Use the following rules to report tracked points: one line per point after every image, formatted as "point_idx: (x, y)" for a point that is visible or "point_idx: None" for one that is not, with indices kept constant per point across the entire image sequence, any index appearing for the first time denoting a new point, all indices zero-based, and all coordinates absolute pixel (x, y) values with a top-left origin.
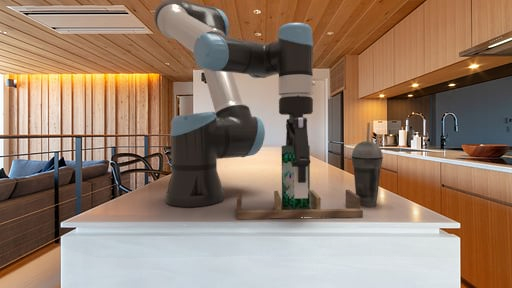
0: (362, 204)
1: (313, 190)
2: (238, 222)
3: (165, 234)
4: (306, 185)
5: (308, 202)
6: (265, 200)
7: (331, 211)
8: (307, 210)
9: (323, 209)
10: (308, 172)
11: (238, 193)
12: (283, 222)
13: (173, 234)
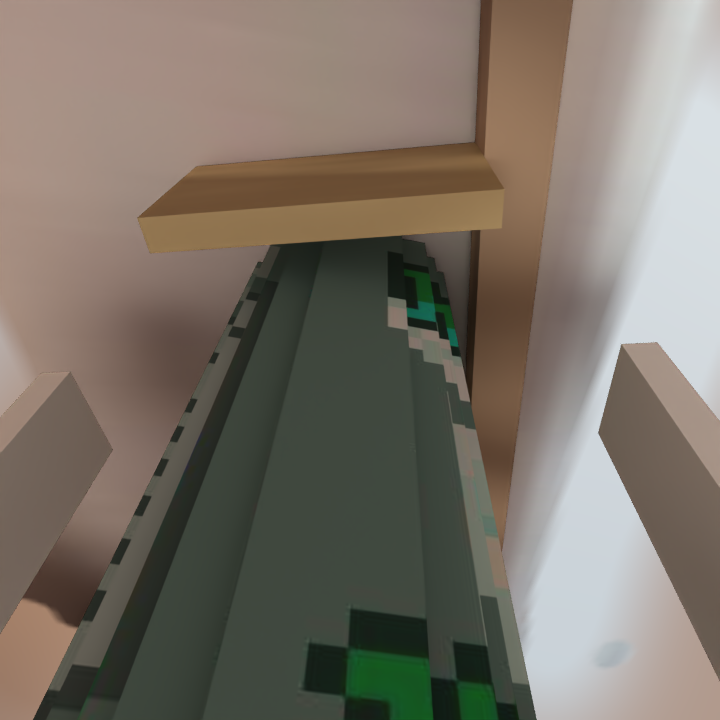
0: None
1: (151, 217)
2: (530, 538)
3: (611, 665)
4: (716, 437)
5: (403, 265)
6: (114, 455)
7: (564, 53)
8: (508, 268)
9: (497, 129)
10: (416, 469)
11: None
12: (573, 384)
13: (618, 654)
